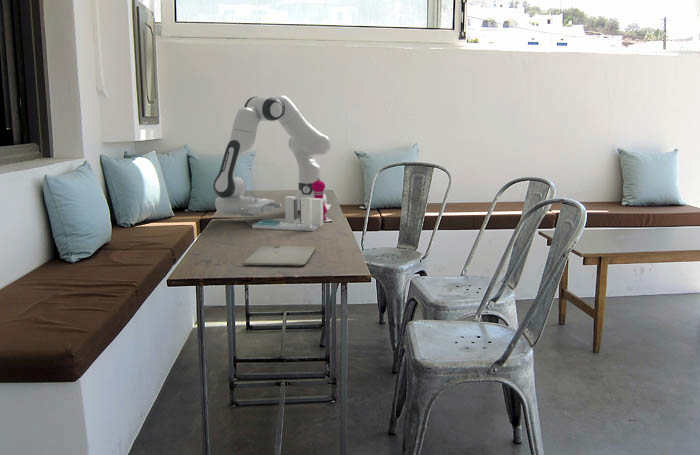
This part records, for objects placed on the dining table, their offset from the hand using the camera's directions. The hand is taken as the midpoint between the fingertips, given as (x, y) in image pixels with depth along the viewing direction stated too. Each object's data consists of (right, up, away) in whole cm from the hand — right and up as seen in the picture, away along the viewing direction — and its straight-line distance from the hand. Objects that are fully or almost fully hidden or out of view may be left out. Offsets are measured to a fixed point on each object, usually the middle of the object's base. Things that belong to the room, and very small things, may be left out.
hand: (277, 207), depth 284 cm
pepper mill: (+19, -6, +6) cm, 21 cm away
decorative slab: (+9, -20, -67) cm, 70 cm away
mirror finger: (+19, -8, -8) cm, 22 cm away
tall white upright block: (+7, -7, -1) cm, 10 cm away
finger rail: (+5, -9, -13) cm, 16 cm away
